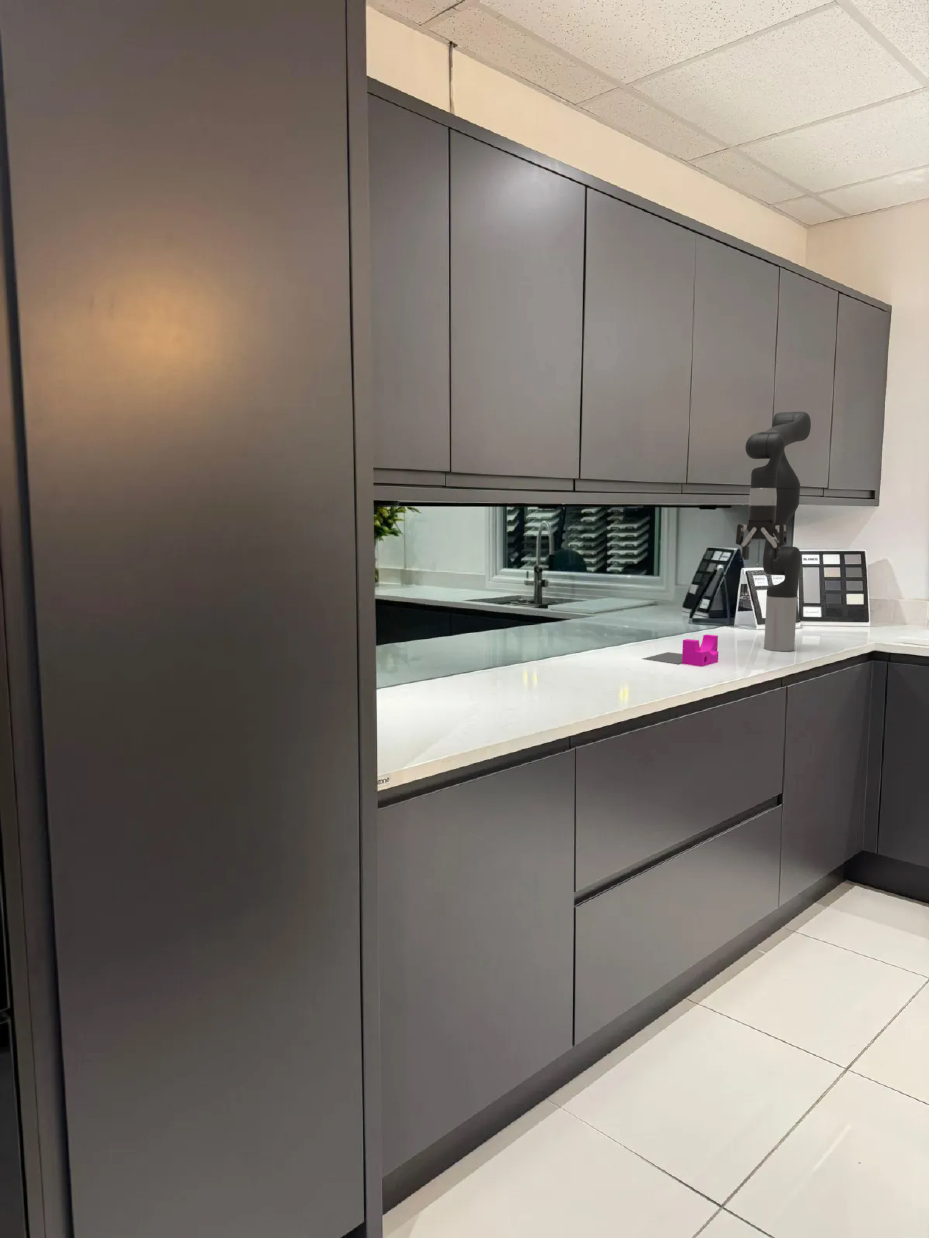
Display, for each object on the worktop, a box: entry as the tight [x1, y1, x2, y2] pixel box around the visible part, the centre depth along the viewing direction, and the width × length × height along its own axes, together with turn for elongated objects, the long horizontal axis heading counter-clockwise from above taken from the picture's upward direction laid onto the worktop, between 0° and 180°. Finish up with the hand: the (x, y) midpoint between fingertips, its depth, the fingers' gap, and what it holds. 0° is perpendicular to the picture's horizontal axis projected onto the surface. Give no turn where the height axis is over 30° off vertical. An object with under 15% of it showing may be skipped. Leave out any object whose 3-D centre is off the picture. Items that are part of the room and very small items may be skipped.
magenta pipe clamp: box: [681, 634, 719, 667], centre depth 255 cm, size 15×6×8 cm, turn 139°
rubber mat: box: [642, 651, 682, 665], centre depth 260 cm, size 16×12×1 cm
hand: (760, 560), depth 253 cm, fingers open, 8 cm apart
